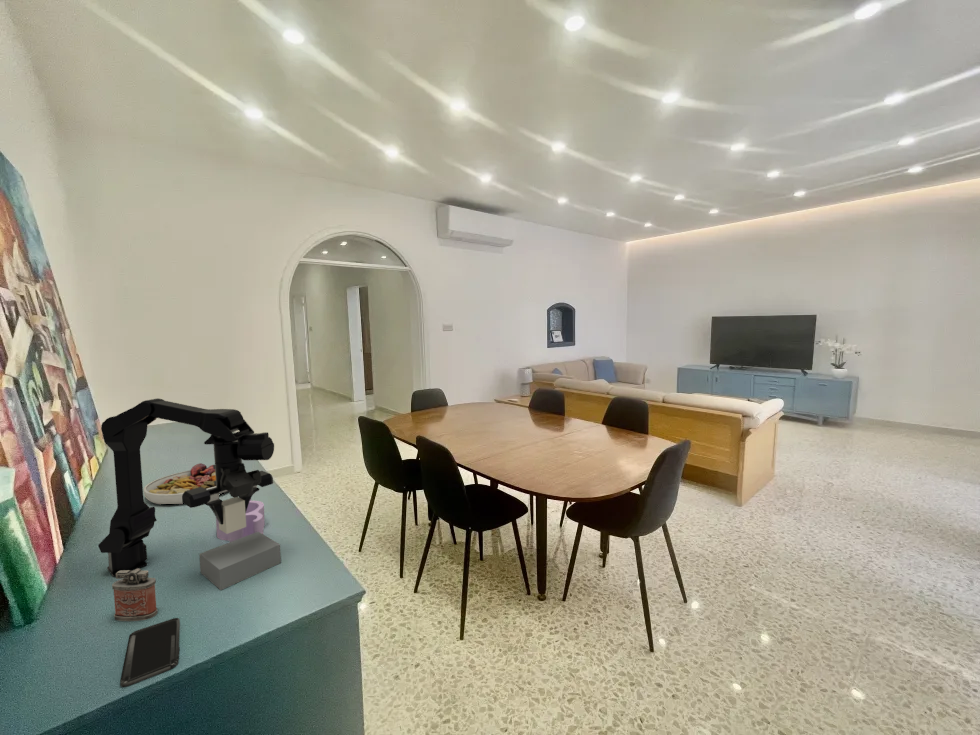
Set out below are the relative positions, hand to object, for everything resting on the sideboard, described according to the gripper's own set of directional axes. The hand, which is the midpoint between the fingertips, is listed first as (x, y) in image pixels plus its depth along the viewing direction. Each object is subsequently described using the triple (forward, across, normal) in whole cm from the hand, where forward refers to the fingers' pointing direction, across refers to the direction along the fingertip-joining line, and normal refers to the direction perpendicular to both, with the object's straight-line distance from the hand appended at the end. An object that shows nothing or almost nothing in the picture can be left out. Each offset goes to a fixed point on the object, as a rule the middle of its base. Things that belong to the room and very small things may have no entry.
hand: (232, 520), depth 101 cm
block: (+2, 0, 0) cm, 2 cm away
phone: (+13, -21, -18) cm, 30 cm away
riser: (+12, +1, -2) cm, 13 cm away
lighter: (+12, -20, -2) cm, 24 cm away
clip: (+13, +9, +18) cm, 24 cm away
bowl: (+12, +14, +68) cm, 71 cm away
